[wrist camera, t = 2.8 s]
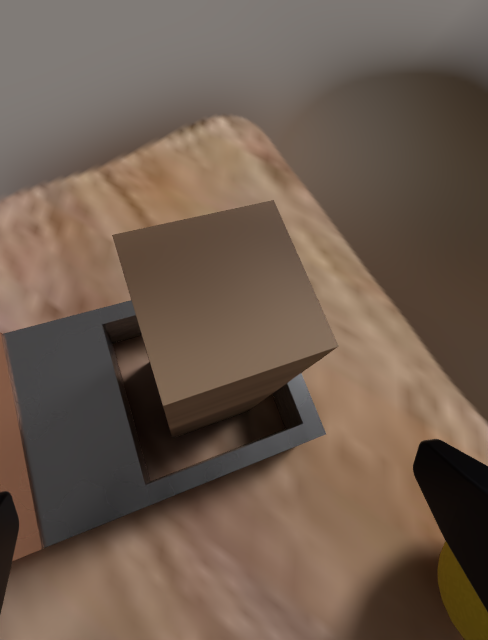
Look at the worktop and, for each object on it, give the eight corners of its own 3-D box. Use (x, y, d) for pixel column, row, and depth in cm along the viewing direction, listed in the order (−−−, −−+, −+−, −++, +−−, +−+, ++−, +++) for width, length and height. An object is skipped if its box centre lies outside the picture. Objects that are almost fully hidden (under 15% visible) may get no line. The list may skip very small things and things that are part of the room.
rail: (305, 437, 20) (327, 433, 17) (-183, 633, 14) (-277, 677, 11) (247, 291, 22) (258, 265, 19) (-191, 413, 17) (-271, 403, 14)
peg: (248, 410, 20) (338, 346, 9) (172, 438, 19) (163, 405, 8) (222, 339, 21) (273, 200, 10) (149, 361, 20) (112, 235, 9)
